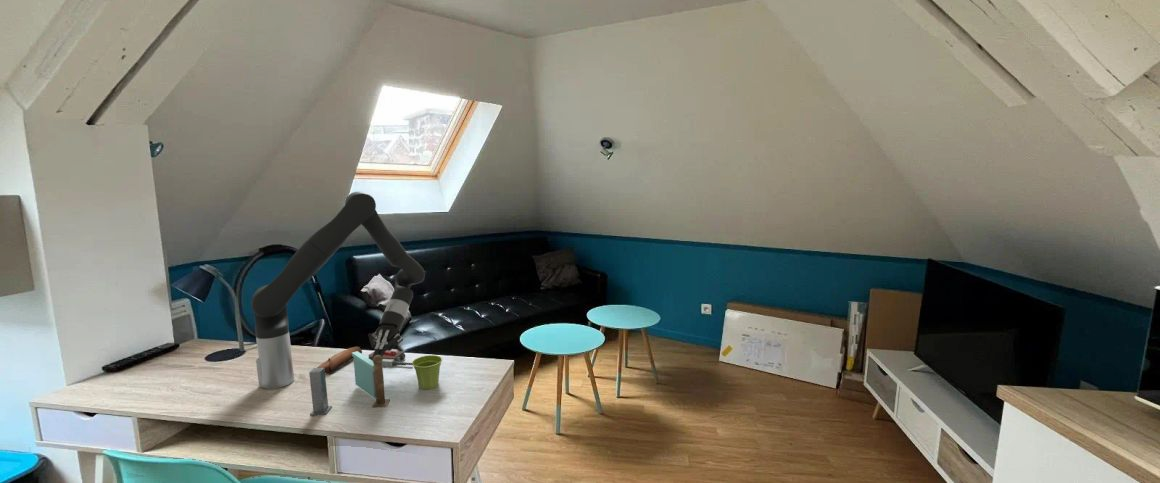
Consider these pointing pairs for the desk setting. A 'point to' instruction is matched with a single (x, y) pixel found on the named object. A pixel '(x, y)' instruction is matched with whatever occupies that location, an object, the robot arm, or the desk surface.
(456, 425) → the desk surface
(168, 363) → the desk surface
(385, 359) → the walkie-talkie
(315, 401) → the latch post
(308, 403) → the desk surface
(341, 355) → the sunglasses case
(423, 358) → the plant pot
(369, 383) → the gate
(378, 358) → the hinge post
